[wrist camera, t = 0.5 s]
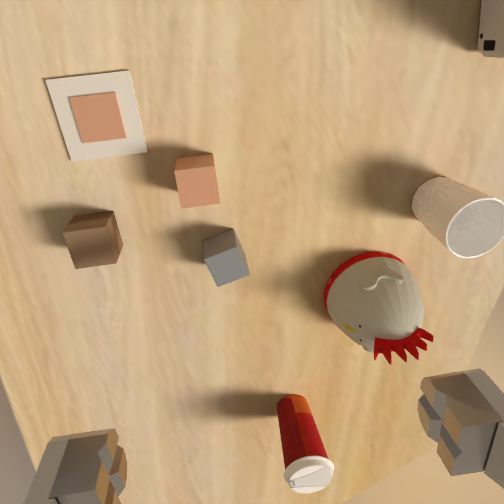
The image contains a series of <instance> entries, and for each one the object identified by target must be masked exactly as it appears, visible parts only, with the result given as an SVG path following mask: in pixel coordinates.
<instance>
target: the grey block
mask: <svg viewBox="0 0 504 504" xmlns="http://www.w3.org/2000/svg"><path fill="white" fill-rule="evenodd" d="M203 247H204V261H205V263H206V265H207V267H208V269H209V271H210V273H211V275H212V277H213V279H214V281H215V283H216V285H217V287H219V286H222V285H224V284H227V283H229V282H232V281H235V280H237V279H240V278H243V277H245V276H248V275H250V274H249V269H248V265H247V260H246V255H245V253H244V250H243V248H242V246H241V244H240V241H239V239H238V237H237V235H236V232H235V230H234V229H231V230H228V231H226V232H223V233H221V234H218V235H216V236H213V237H211V238H208V239H205V240H203Z"/></svg>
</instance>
